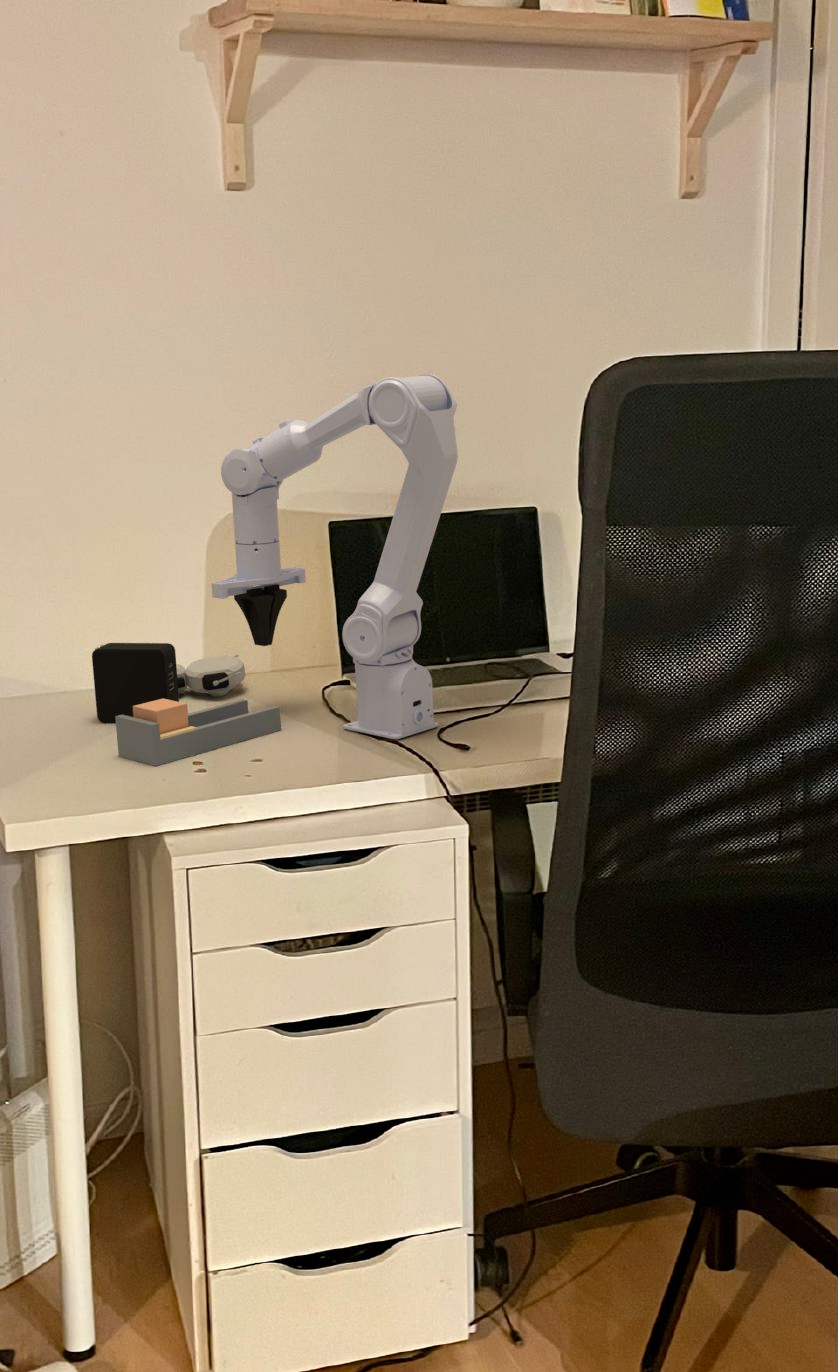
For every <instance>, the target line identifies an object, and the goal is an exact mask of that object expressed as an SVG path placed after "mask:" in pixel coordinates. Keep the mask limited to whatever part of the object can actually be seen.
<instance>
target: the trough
mask: <svg viewBox="0 0 838 1372" xmlns="http://www.w3.org/2000/svg"><path fill="white" fill-rule="evenodd" d="M248 703H249V702H248V700H247V699H238V700H234V701H231V702H226V703H224V704H220V705H219V704H218V705H216V706H213V707H212V706H211V707H209V708H204V709H201V710H196V711H192V712H188V725H189V727H186V728H183V729H179V730H175V731H172V732H168V733H164V734H161V735H160V727H159V723H155V722H151V721H147V720H143V719H139V718H134V717H130V716H126V715H119V716H115V719H116V724H115V728H116V729H115V730H116V740H117V743H116V744H117V751H118V752H117V753H118V757H119V758H124V759H128V760H131V761H135V762H138V763H142V764H147V765H150V766H154V767H157V766H161V765H164V764H168V763H171V762H175V761H178V760H182V759H184V758H188V757H193V756H196V755H199V754H202V753H207V752H210V751H214V750H217V749H220V748H224V747H227V746H230V745H233V744H237V743H241V742H244V741H248V740H251V739H255V738H258V737H261V736H262V737H263V736H264V735H268V734H272V733H274V732H275V733H276V732H278V731H281V730H282V721H281V720H282V719H281V707H280V706H276V705H274V706H269V707H266V708H262V709H258V710H255V711H251V712H249V704H248Z"/></svg>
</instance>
